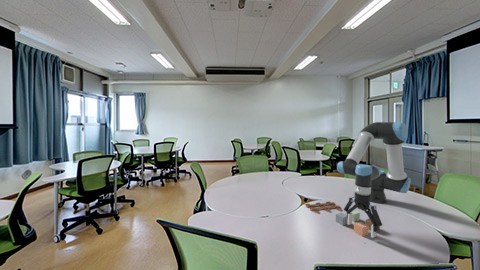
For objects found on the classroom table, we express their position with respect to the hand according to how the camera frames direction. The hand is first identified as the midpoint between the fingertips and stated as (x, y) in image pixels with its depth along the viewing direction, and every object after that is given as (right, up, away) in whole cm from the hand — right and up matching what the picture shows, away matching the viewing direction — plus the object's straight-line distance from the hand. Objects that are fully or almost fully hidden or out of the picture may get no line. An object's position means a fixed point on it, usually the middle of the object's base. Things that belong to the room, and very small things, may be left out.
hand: (360, 230), depth 109 cm
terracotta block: (0, -2, 0) cm, 2 cm away
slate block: (-5, -1, +11) cm, 12 cm away
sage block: (+5, -1, +15) cm, 16 cm away
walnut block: (+9, -2, +4) cm, 10 cm away
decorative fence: (-7, 0, +32) cm, 33 cm away
